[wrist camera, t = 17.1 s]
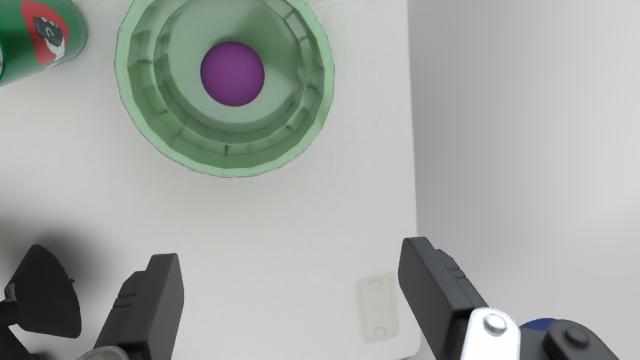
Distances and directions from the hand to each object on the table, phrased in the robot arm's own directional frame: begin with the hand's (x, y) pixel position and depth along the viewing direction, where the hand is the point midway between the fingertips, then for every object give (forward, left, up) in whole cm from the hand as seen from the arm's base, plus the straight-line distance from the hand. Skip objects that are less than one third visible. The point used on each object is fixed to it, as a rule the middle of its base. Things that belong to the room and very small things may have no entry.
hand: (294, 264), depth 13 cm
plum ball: (+3, -3, -19) cm, 19 cm away
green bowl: (+3, -3, -22) cm, 22 cm away
